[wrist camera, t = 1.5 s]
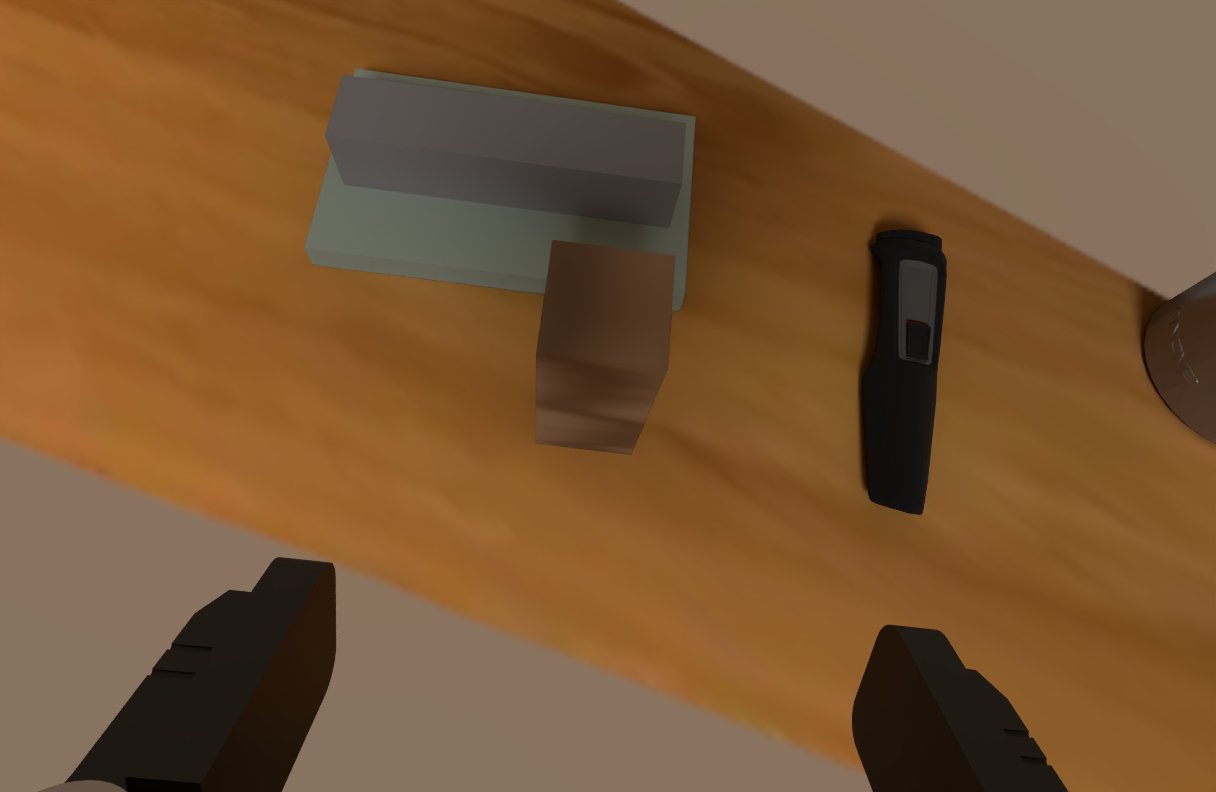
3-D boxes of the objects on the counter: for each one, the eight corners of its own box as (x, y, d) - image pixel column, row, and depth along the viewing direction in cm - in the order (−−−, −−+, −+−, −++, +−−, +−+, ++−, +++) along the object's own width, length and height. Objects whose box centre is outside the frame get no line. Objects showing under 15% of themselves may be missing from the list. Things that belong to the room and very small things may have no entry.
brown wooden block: (638, 367, 35) (675, 255, 26) (631, 454, 34) (668, 368, 25) (547, 356, 35) (552, 239, 26) (535, 443, 34) (536, 352, 24)
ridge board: (689, 135, 41) (710, 65, 36) (678, 311, 37) (700, 257, 32) (361, 89, 40) (338, 11, 35) (313, 264, 36) (280, 202, 31)
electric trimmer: (839, 516, 34) (867, 501, 31) (866, 238, 40) (893, 203, 37) (917, 534, 34) (954, 521, 31) (934, 254, 40) (966, 220, 37)
